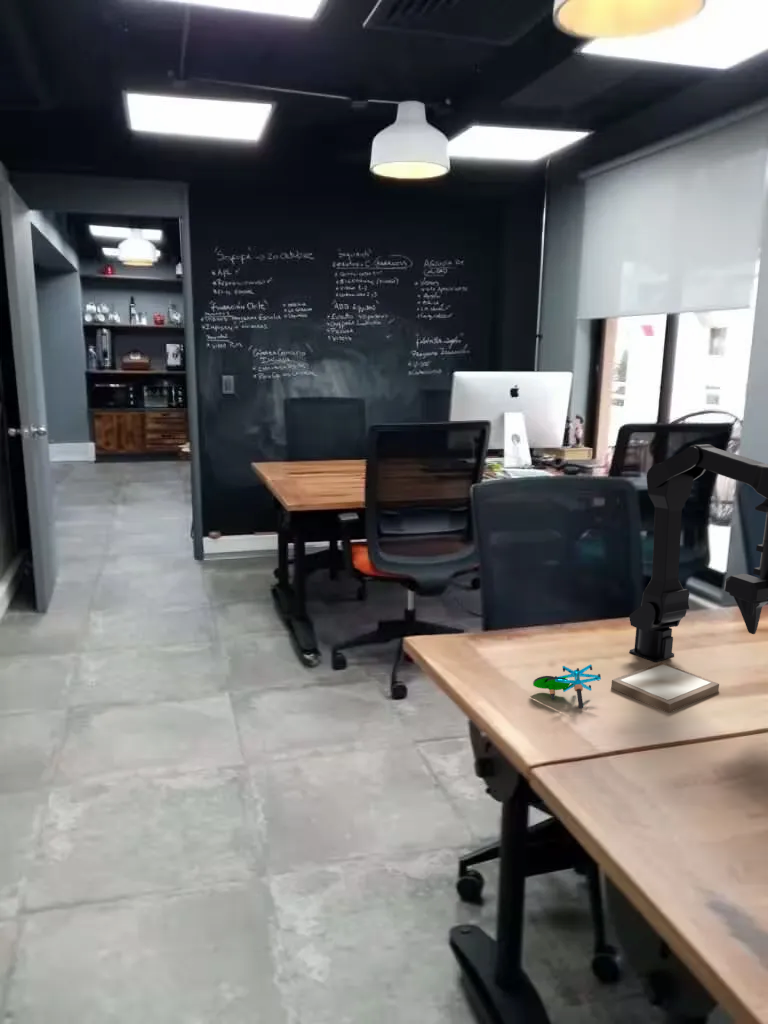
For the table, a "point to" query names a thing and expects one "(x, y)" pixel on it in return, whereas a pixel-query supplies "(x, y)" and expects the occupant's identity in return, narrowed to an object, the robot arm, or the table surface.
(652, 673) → the walnut framed pale panel
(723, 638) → the table surface
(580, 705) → the stick construction toy
